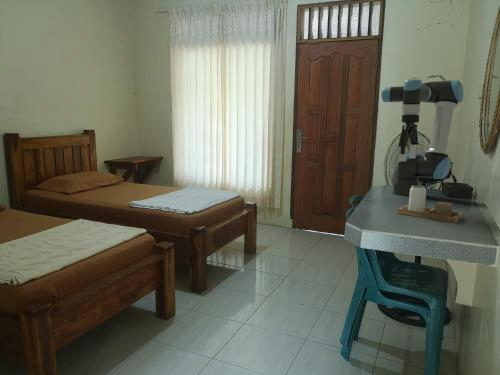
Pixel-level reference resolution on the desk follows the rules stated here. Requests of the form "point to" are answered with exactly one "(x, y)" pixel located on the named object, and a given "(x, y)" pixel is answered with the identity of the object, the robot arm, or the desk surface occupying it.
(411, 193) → the can
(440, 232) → the desk surface
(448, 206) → the walnut block
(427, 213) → the caddy
